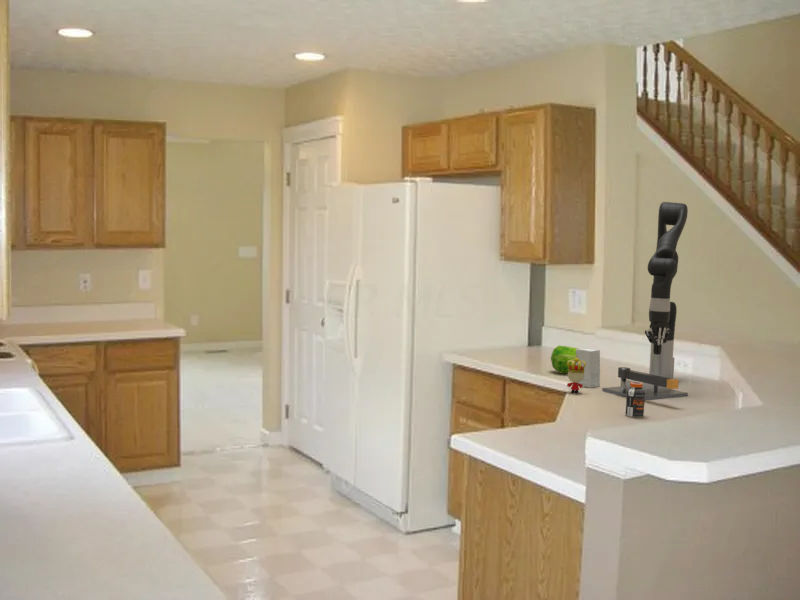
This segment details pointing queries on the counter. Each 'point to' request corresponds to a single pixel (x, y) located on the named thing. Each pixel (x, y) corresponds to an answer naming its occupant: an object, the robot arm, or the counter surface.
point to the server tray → (648, 396)
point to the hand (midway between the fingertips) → (657, 354)
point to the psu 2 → (660, 389)
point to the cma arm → (647, 378)
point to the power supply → (646, 387)
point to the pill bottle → (635, 400)
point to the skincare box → (590, 366)
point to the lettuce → (562, 358)
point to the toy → (575, 374)
